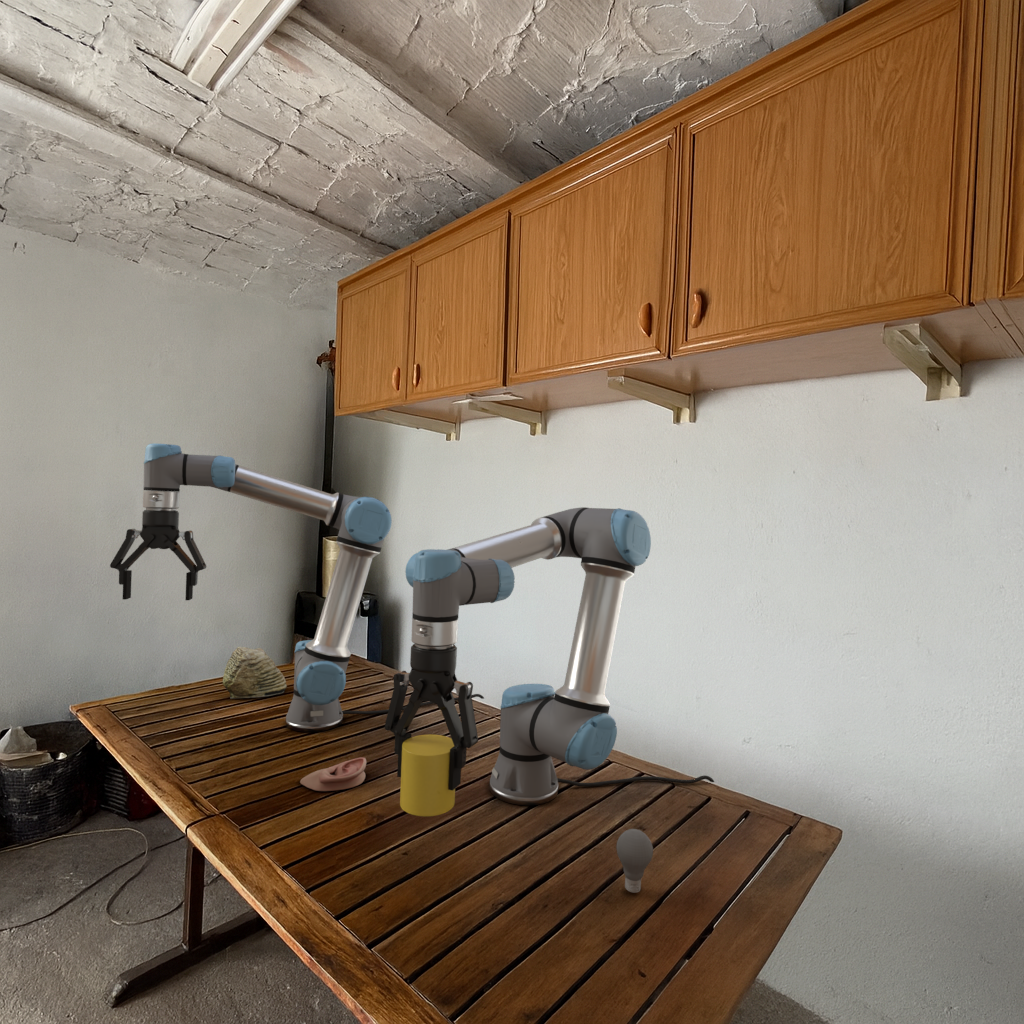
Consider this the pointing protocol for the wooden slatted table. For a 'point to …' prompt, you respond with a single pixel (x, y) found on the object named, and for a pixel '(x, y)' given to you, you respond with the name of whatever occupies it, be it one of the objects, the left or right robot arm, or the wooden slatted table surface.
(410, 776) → the canister
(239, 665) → the fossil
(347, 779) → the anatomical model
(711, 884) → the wooden slatted table surface
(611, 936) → the wooden slatted table surface
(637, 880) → the light bulb
